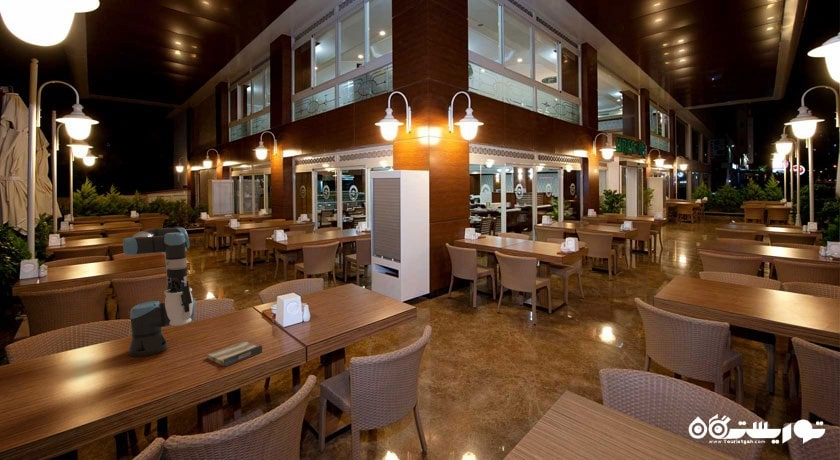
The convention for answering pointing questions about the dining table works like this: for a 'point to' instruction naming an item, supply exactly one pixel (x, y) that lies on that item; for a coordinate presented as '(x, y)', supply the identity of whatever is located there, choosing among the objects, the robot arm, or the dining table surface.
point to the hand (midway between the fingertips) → (180, 316)
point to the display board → (234, 353)
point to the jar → (176, 307)
